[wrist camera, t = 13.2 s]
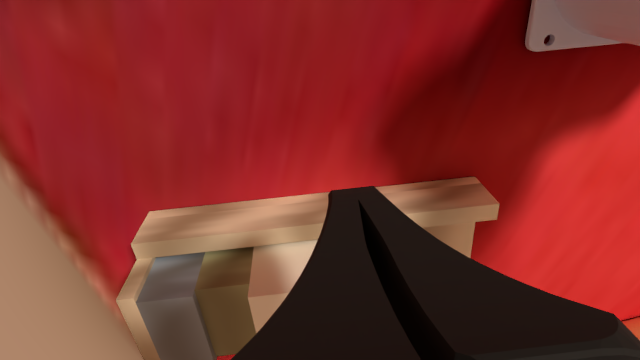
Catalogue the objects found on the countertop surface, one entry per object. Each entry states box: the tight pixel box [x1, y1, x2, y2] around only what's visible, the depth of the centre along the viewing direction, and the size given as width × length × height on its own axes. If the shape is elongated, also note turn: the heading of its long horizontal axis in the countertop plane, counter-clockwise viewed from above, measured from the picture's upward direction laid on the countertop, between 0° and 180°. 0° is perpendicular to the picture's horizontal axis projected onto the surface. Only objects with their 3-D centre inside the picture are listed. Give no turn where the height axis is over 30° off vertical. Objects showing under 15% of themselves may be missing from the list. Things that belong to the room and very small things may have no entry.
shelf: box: [116, 177, 500, 360], centre depth 22 cm, size 19×10×6 cm, turn 95°
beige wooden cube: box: [248, 239, 318, 333], centre depth 21 cm, size 4×5×6 cm
